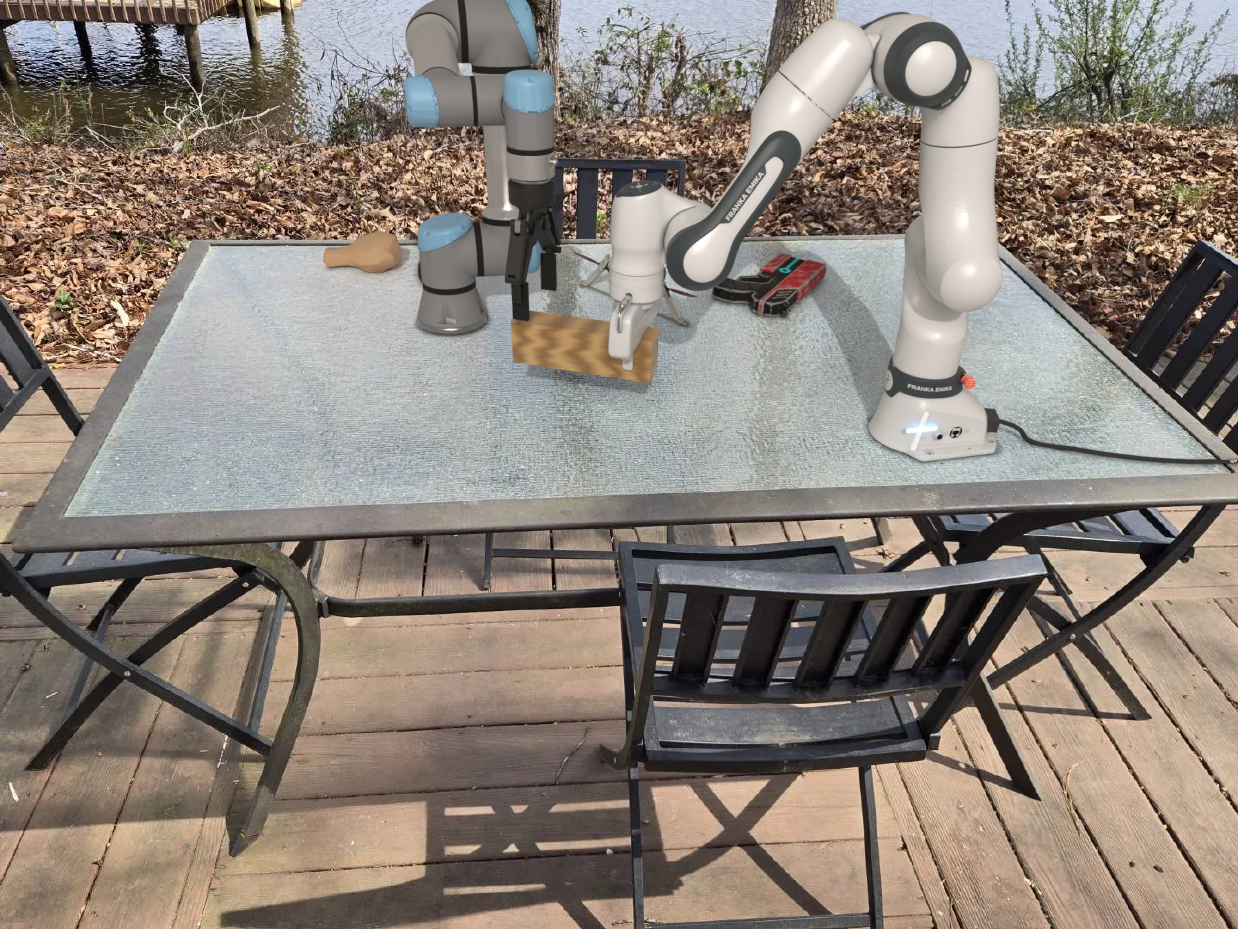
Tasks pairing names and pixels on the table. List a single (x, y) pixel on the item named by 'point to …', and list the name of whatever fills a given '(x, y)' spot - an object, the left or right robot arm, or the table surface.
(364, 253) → the squash
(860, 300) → the table surface
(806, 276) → the gun
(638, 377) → the bar
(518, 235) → the left robot arm
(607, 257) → the bow
